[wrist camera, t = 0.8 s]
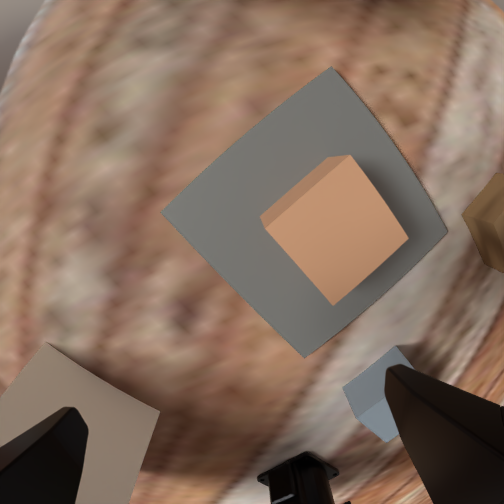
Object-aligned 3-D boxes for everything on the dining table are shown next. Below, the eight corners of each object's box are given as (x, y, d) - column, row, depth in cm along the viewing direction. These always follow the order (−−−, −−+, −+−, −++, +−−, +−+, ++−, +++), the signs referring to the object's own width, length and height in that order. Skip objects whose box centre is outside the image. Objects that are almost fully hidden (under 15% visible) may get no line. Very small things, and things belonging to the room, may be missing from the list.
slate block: (419, 376, 24) (439, 402, 20) (371, 413, 24) (386, 442, 21) (394, 344, 22) (416, 371, 19) (342, 386, 23) (356, 418, 19)
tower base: (443, 230, 20) (481, 244, 15) (303, 353, 22) (315, 393, 17) (328, 68, 17) (352, 44, 12) (162, 211, 19) (140, 223, 14)
